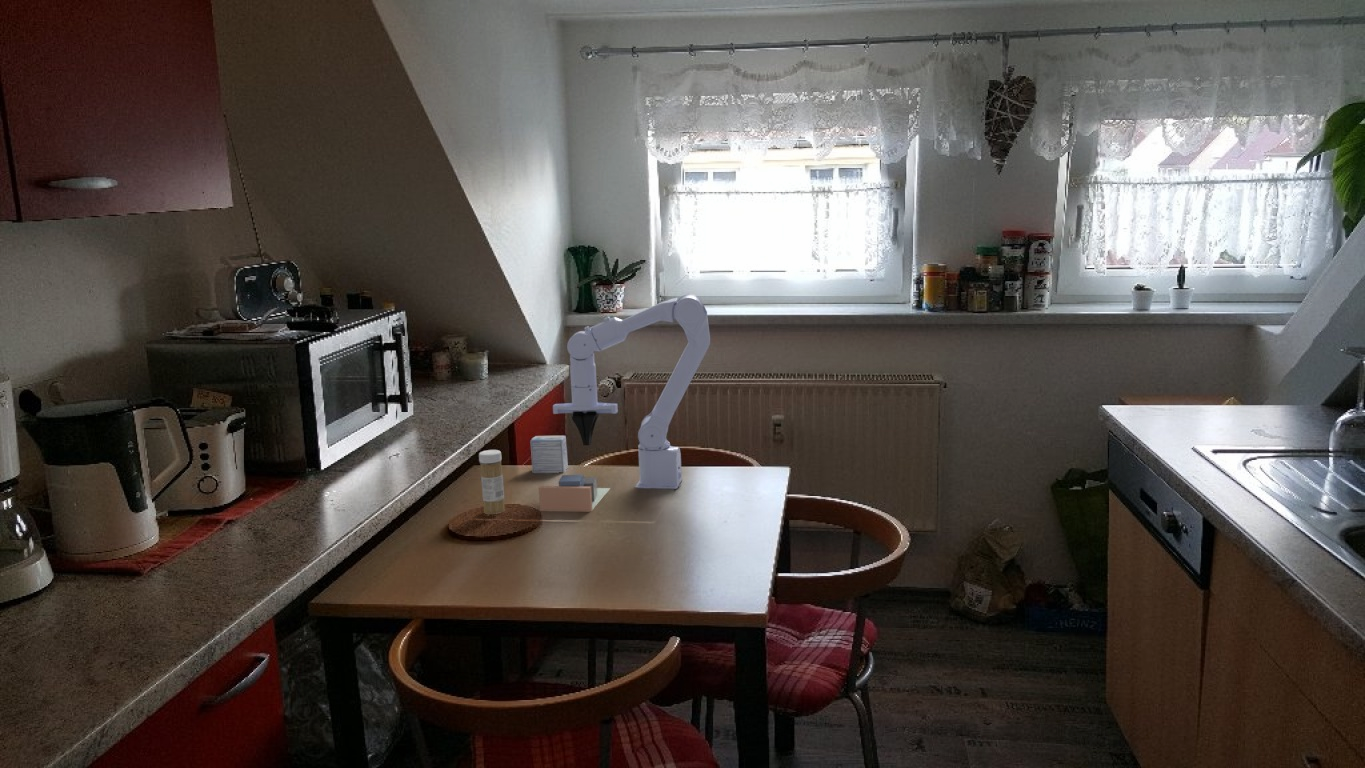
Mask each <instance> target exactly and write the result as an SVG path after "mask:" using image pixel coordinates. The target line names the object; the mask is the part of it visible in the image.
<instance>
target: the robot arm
mask: <svg viewBox="0 0 1365 768" xmlns="http://www.w3.org/2000/svg"><path fill="white" fill-rule="evenodd" d="M674 320H676V322H677V323H678V325H679V326H680V327H681V328H682V329H683V331H684V335H685V337H686V338H687V339H686V340H687V345H686V346H685V348H684V350H683V352H682V353H681V356H680V357H679V360H678V361H677V363H676V366H674V369H673V371H672V373H671V374H670V377H669V378H668V380H667V383H666V384H665V386H664V388H663V390H662V392H661V394H660V396H659V398H658V400H657V401H656V403H655V404H654V407H653V408H652V411H651V412H650V413H649V414H648V415H645V416H644V418H643V419H642V421H641V422H640V423H641V424H640V428H639V429H638V431H637V432H638V433H637V438H638V442H639V444H638V445H637V446H638V448H637V450H638V469H639V470H638V471H639V481H638V482H637V483H636V485H635V486H634V487H635V488H636V489H673V490H677V489H678V487H679V486H680V485H681V482H682V481H683V478H682V454H681V449H680V447H679V446H673V445H671V443H670V441H669V440H668V439H667V433H668V431H669V425H670V424H671V421H672V418H673V416H674V414H675V412H676V410H677V409H678V406H679V404H680V403H681V401H682V399H683V397H684V395H685V393H686V392H687V390H688V387H689V386H690V384H691V382H692V380H693V378H694V376H695V374H696V373H697V370H698V368H699V366H700V365H701V364H702V363H701V362H702V360H703V359H704V357H705V355H706V353H707V351H708V349H709V347H710V346H711V345H710V344H711V334H710V327H709V319H708V311H707V308H706V307H705V305H704V303H703V301H702V299H701V298H700V297H698V295H695V294H690V293H688V294H684V295H682V296H681V297H679V299H678V297H674V298H670V299H666V300H665V301H661V302H659V303H656V304H655V305H652V306H650V307H648V308H645V309H644V310H642V311H639V312H637V313H635V314H633V315H630V316H629V317H626V318H624V319H621V318H618V317H616V316H614V317H610V316H607V317H605V318H603V321H602V322H599V323H597V324H595V325H593V326H589V325H587V326H585V327H584V330H579V331H577V332H575V333H574V334H573V335H572V336H570V338H569V339H568V340H567V346H566V348H567V349H566V350H567V353H568V354H569V363H570V365H569V372H570V374H569V375H570V389H571V402H568V403H555V404H553V405H552V413H553V415H556V414H557V415H558V414H572V416H571V419H572V422H573V424H575V427H576V428H577V430H578V433H579V435H580V437H581V441H582V446H591V444H592V441H593V439H592V438H593V434H594V429H595V426H596V422H597V421H598V418H599V415H600V414H611V415H613V414H614V415H615V414H618V412H619V409H618V406H619V405H618V403H609V402H598V388H597V387H598V386H597V385H598V383H597V367H596V366H597V365H596V363H595V353H594V352H603V351H604V350H606V349H608V348H611V347H613V346H617V345H618V344H620V343H622V342H625V341H626V338H627V336H628V334H630V333H632V332H634V331H636V330H639V329H642V328H645V327H647V326H649V325H652V324H654V323H657V322H660V321H661V322H662V321H663V322H668V323H674Z"/></svg>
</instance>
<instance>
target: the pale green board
mask: <svg viewBox="0 0 1365 768" xmlns="http://www.w3.org/2000/svg"><path fill="white" fill-rule="evenodd" d="M610 490H611V488H610V487H597V497H596V499H595V501H592V492H591V487H586V486H559V485H557V486H556V485H540V486H538V496H539V497H538V498H539V499H538V501H539V511H540V512H582V513H584V512H588V513H589V512H592V511H593V510H594V509H595V508H596V507H597V505H598V504H599V503H600V501H601V500H602V499H603V498H604V497H605V496H606V494H607V493H608V492H609V491H610Z"/></svg>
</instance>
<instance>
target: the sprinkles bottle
mask: <svg viewBox="0 0 1365 768" xmlns="http://www.w3.org/2000/svg"><path fill="white" fill-rule="evenodd" d="M478 462H479V464H480V475H481V476H480V479H481V491H482V494H481V495H482V500H483V502H482V503H483V514H484V513H485V514H497V513H501V512H503V511H505V512H506V509H505V491H504V489H505V488H504V476H503V469H502V452H501V451H500V449H499V450H498V449H488V450H483V451H480V452H479V453H478ZM485 514H484V515H485Z"/></svg>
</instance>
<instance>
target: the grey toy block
mask: <svg viewBox="0 0 1365 768" xmlns="http://www.w3.org/2000/svg"><path fill="white" fill-rule="evenodd" d="M583 477H584V476H583ZM597 483H598V481H597V477H596V476H589V477H588V476H587V477H584V486H586V487H591V492H592V501H595V499H596V497H597V488H598V484H597Z"/></svg>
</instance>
